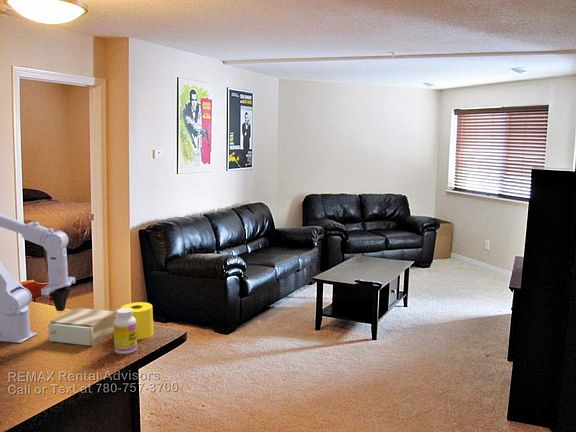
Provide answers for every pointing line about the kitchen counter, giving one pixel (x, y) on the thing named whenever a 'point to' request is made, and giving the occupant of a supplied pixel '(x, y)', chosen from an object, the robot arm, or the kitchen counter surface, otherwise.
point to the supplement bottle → (125, 331)
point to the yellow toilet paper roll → (142, 318)
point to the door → (71, 334)
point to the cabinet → (90, 321)
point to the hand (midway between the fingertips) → (60, 310)
